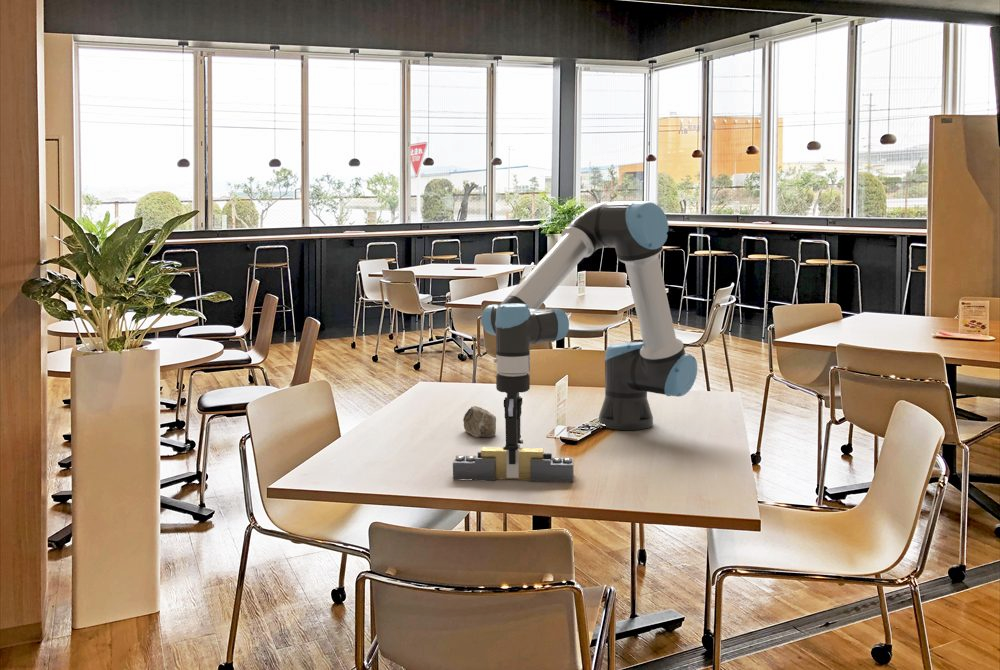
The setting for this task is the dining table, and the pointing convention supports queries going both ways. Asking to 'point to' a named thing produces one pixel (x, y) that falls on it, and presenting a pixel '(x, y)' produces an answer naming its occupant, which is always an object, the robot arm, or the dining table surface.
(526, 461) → the yellow wood block
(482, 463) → the grey block pair
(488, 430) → the stone
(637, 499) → the dining table surface
